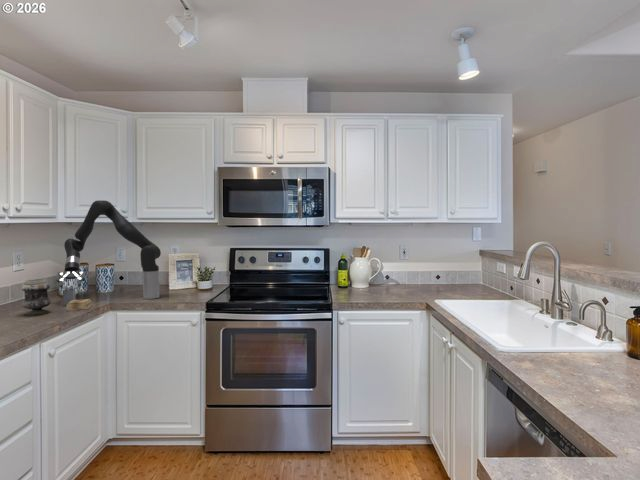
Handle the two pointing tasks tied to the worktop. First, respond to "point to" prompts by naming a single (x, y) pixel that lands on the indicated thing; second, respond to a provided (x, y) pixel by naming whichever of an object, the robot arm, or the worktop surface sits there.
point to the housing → (68, 295)
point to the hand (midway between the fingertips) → (70, 286)
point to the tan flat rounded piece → (79, 304)
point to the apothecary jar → (36, 296)
